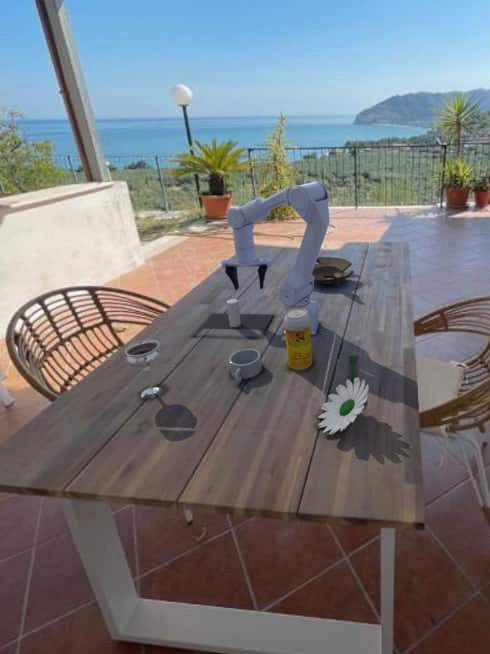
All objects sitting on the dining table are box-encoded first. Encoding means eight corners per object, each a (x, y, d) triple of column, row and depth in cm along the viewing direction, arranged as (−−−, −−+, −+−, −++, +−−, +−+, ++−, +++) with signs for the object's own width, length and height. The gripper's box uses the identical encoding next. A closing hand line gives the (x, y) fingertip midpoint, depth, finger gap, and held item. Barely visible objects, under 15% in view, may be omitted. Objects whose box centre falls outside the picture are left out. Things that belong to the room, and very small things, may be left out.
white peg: (242, 322, 120) (239, 298, 117) (238, 327, 117) (235, 303, 114) (232, 322, 120) (228, 298, 118) (228, 327, 117) (224, 303, 115)
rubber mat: (273, 315, 125) (273, 314, 125) (261, 338, 112) (260, 336, 112) (212, 314, 126) (212, 313, 126) (193, 336, 113) (193, 335, 113)
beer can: (292, 375, 95) (288, 320, 90) (285, 362, 100) (280, 310, 95) (315, 368, 98) (312, 315, 93) (307, 356, 103) (304, 305, 98)
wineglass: (147, 406, 85) (135, 359, 81) (130, 395, 89) (118, 350, 84) (175, 389, 91) (165, 344, 86) (158, 379, 94) (148, 336, 90)
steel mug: (237, 362, 101) (235, 348, 99) (265, 362, 100) (263, 348, 99) (222, 387, 91) (219, 372, 89) (253, 388, 91) (251, 373, 89)
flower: (367, 336, 101) (366, 402, 72) (378, 352, 102) (381, 424, 73) (325, 361, 103) (307, 435, 74) (337, 376, 104) (324, 456, 75)
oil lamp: (352, 267, 167) (352, 250, 164) (356, 295, 139) (356, 275, 136) (300, 268, 166) (298, 251, 163) (293, 297, 138) (292, 277, 135)
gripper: (216, 251, 112) (222, 294, 117) (266, 250, 113) (270, 292, 118) (222, 244, 119) (228, 285, 124) (270, 243, 120) (274, 283, 124)
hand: (249, 288), depth 121 cm, fingers open, 7 cm apart
